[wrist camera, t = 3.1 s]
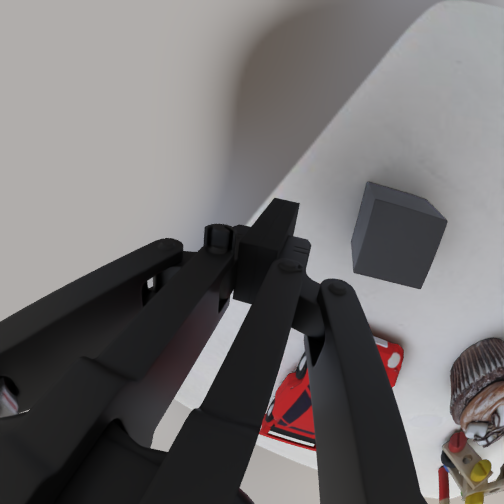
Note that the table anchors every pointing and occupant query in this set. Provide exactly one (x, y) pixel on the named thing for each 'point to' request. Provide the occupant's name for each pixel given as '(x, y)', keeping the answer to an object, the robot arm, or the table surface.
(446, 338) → the table surface
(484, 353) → the cupcake
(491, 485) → the toy construction set
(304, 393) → the toy car
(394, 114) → the table surface
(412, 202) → the charcoal block
